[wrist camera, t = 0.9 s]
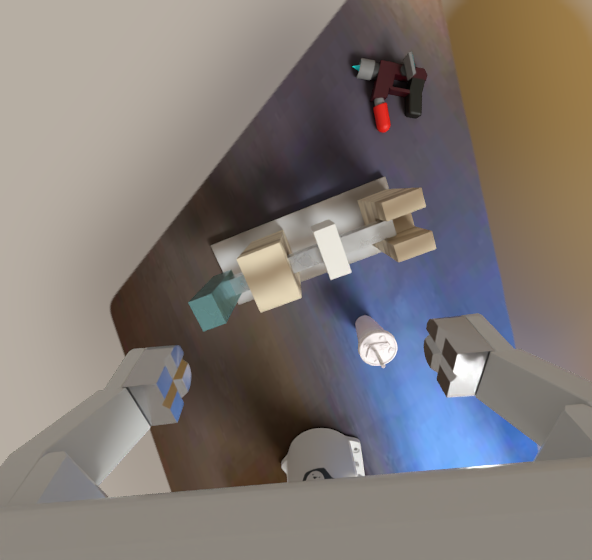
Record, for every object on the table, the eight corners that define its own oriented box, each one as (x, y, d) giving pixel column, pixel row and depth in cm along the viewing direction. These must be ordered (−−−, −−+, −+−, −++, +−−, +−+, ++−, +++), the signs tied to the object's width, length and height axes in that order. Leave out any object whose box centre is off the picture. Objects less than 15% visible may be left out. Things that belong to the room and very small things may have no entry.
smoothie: (342, 320, 56) (357, 360, 43) (370, 302, 55) (394, 337, 42) (359, 344, 58) (379, 389, 44) (387, 327, 57) (415, 368, 43)
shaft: (390, 237, 42) (422, 251, 32) (224, 299, 45) (203, 331, 35) (383, 211, 41) (413, 217, 31) (213, 276, 44) (188, 302, 33)
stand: (401, 242, 52) (443, 261, 37) (239, 302, 55) (220, 341, 41) (383, 176, 49) (421, 169, 34) (212, 244, 52) (180, 264, 37)
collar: (343, 260, 46) (351, 272, 39) (325, 267, 46) (330, 280, 39) (328, 219, 44) (335, 223, 37) (310, 226, 44) (313, 232, 38)
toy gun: (352, 57, 44) (359, 40, 39) (427, 72, 45) (443, 58, 40) (339, 126, 47) (344, 118, 42) (410, 139, 48) (423, 133, 43)
